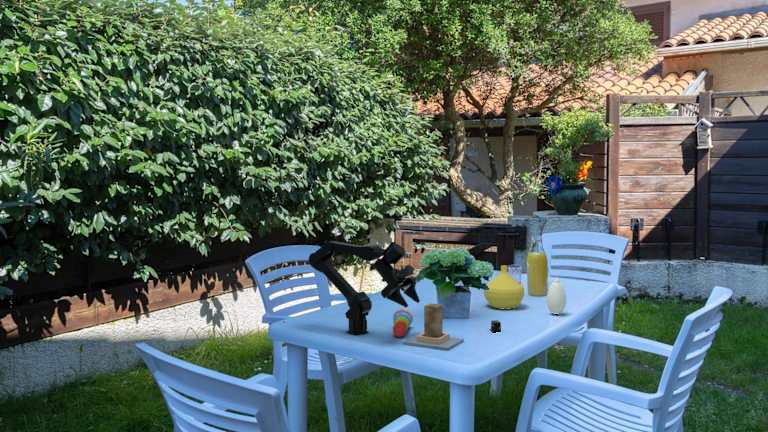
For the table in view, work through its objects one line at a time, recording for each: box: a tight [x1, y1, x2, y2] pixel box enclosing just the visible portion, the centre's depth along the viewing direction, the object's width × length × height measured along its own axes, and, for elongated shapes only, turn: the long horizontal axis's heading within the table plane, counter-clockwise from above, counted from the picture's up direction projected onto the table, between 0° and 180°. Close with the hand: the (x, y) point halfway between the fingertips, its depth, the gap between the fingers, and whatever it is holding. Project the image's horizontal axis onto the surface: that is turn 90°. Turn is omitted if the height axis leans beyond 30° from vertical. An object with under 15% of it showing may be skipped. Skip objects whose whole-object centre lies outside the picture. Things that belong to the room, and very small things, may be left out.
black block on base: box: [488, 319, 502, 333], centre depth 264 cm, size 12×7×5 cm, turn 4°
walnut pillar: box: [423, 303, 444, 338], centre depth 246 cm, size 5×5×13 cm
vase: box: [483, 264, 525, 309], centre depth 309 cm, size 18×18×19 cm
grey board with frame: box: [402, 332, 465, 351], centre depth 247 cm, size 18×14×3 cm
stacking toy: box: [392, 307, 414, 338], centre depth 263 cm, size 8×8×19 cm
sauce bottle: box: [546, 273, 567, 313], centre depth 292 cm, size 8×8×18 cm
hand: (413, 304), depth 250 cm, fingers open, 9 cm apart
